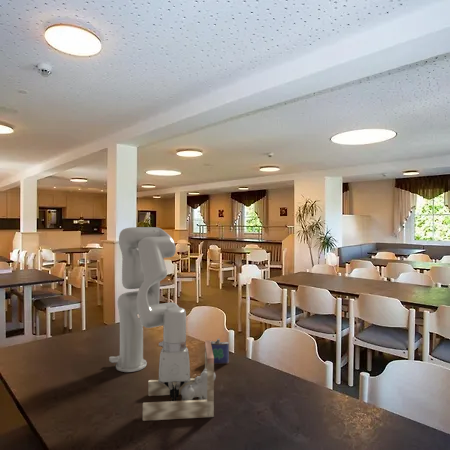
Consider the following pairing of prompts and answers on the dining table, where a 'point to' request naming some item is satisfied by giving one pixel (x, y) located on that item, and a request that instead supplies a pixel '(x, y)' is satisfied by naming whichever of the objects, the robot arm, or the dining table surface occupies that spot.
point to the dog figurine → (196, 388)
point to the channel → (182, 407)
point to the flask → (220, 352)
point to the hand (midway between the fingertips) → (174, 399)
